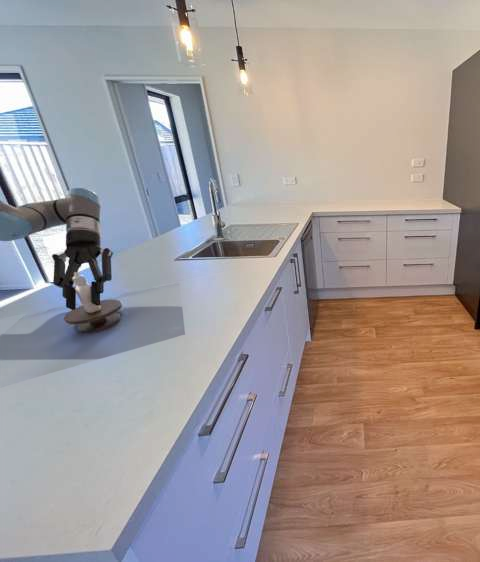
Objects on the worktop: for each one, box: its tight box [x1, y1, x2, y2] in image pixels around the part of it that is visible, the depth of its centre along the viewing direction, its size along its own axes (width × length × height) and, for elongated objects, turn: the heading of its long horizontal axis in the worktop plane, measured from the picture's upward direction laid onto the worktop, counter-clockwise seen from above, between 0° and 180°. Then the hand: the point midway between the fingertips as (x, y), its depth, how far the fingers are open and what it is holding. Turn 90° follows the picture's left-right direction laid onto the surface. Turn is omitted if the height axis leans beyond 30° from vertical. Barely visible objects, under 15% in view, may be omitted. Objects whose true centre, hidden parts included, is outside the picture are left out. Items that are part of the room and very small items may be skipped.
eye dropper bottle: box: [72, 271, 101, 313], centre depth 86 cm, size 4×6×12 cm
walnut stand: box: [63, 298, 123, 334], centre depth 90 cm, size 13×13×5 cm
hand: (83, 305), depth 84 cm, fingers open, 5 cm apart
